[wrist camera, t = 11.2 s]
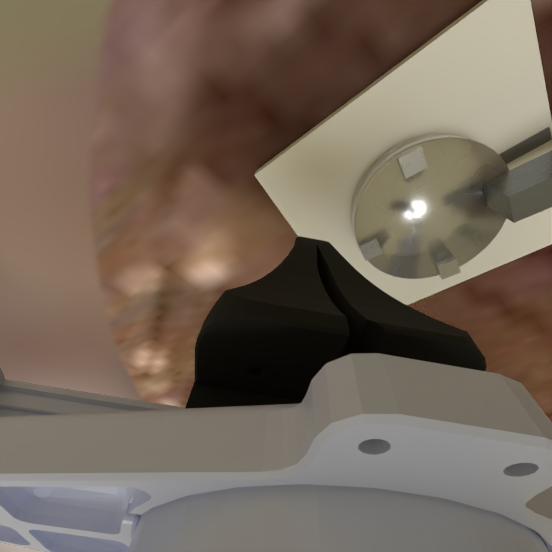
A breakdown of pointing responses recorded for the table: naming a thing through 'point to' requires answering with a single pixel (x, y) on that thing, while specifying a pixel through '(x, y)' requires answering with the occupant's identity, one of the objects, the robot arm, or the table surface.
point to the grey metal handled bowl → (442, 204)
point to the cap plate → (421, 121)
